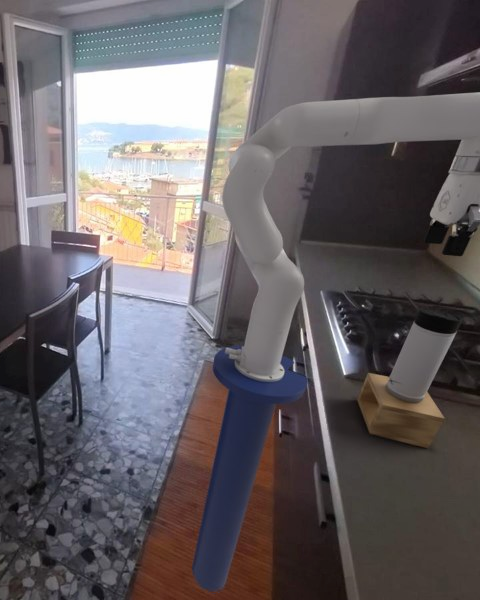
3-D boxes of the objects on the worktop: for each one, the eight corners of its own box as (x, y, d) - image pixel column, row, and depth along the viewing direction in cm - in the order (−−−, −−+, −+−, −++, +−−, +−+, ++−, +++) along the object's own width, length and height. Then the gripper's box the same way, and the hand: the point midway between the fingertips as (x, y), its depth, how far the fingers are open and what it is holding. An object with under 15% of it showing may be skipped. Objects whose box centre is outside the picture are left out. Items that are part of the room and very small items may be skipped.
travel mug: (381, 393, 77) (417, 311, 69) (388, 380, 81) (423, 301, 73) (419, 408, 73) (462, 322, 64) (424, 394, 77) (466, 311, 68)
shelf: (369, 433, 77) (382, 404, 74) (357, 399, 87) (367, 372, 84) (428, 448, 74) (445, 418, 70) (408, 411, 84) (421, 383, 80)
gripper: (435, 162, 79) (406, 237, 87) (473, 169, 65) (435, 258, 72) (479, 163, 77) (446, 240, 84) (530, 170, 62) (485, 263, 70)
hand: (441, 248), depth 78 cm, fingers open, 9 cm apart
